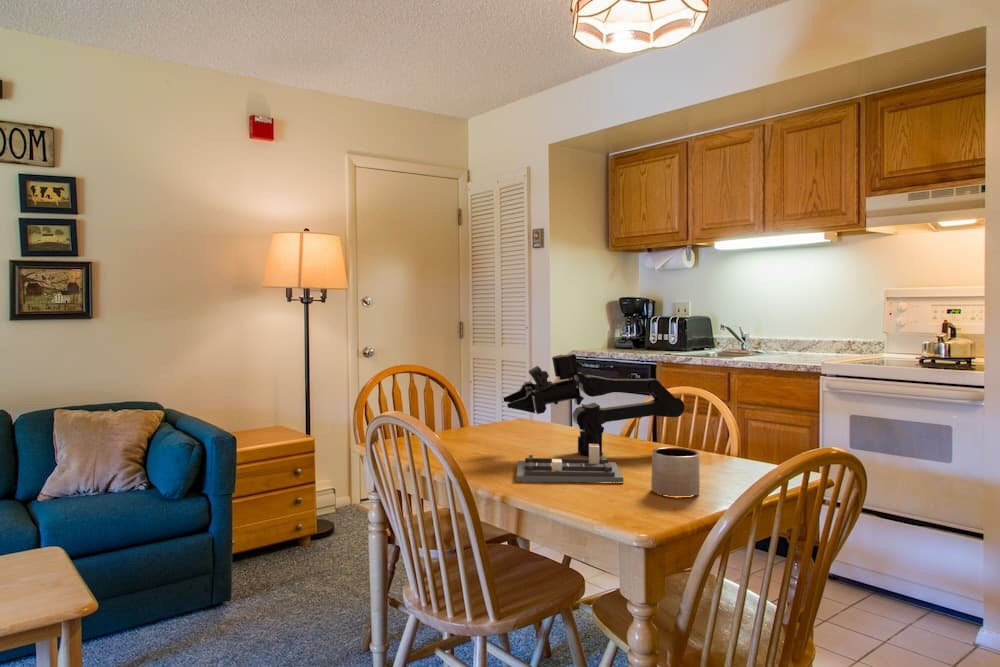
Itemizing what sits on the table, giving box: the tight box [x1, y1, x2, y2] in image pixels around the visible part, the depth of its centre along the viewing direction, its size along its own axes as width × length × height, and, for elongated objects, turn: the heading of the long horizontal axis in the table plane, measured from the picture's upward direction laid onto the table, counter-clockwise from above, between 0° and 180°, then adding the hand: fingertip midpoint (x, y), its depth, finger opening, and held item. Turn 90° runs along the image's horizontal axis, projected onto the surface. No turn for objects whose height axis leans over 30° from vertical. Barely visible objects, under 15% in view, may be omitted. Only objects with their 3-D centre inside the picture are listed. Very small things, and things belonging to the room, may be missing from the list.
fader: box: [588, 444, 600, 464], centre depth 177 cm, size 2×4×5 cm, turn 177°
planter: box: [650, 446, 701, 496], centre depth 157 cm, size 11×11×10 cm
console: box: [516, 454, 624, 484], centre depth 174 cm, size 26×16×4 cm, turn 87°
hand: (505, 402), depth 195 cm, fingers open, 9 cm apart
